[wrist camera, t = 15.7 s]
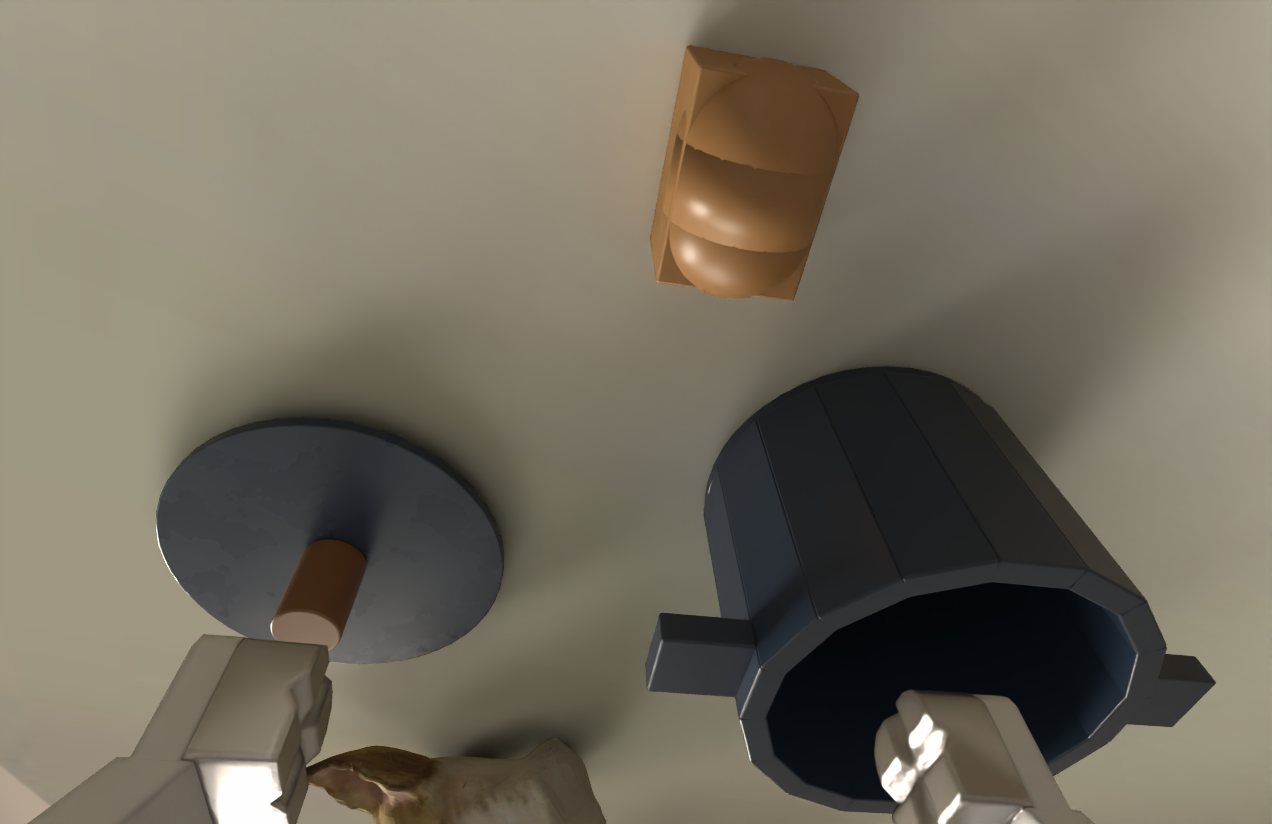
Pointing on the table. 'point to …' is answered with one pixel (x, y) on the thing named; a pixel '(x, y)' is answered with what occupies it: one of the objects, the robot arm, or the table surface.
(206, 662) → the robot arm
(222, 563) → the lid
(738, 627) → the pot
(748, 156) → the brown rounded block
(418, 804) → the ceramic sculpture
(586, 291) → the table surface
